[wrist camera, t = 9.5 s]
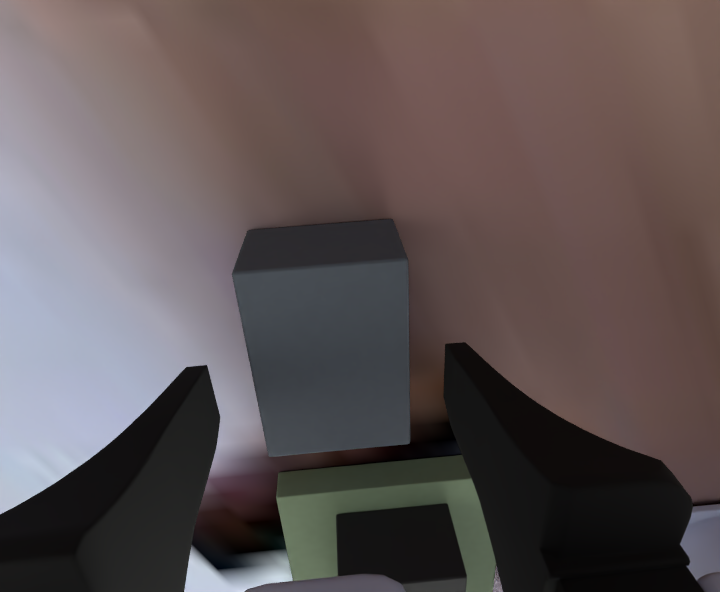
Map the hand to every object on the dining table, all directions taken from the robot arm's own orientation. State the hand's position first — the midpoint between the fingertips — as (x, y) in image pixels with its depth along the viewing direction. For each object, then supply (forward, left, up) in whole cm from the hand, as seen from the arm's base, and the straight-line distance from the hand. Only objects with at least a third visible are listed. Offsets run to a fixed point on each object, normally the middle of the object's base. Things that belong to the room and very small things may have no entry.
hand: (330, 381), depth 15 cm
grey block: (0, 0, -4) cm, 4 cm away
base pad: (-2, +13, -4) cm, 14 cm away
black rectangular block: (-2, +13, -3) cm, 13 cm away
